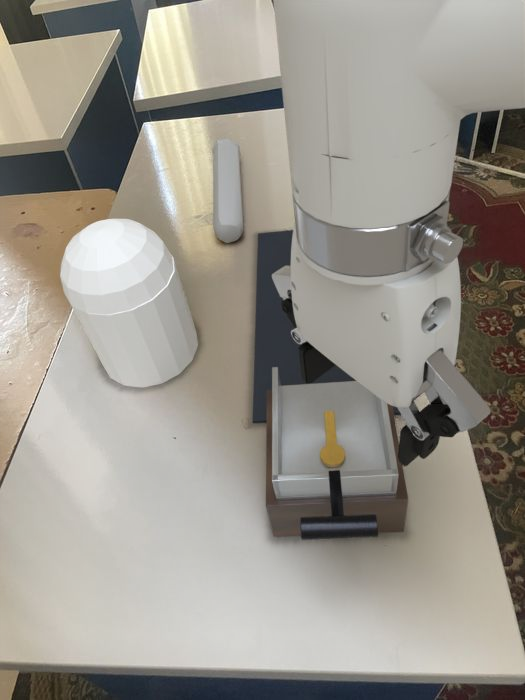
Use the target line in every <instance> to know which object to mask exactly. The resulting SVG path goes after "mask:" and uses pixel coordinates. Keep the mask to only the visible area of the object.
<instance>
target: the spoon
mask: <svg viewBox="0 0 525 700" xmlns="http://www.w3.org/2000/svg"><path fill="white" fill-rule="evenodd" d="M324 416H325V430H326V444H327V445H325V446H324V447H323V448H322V449H321V451H320V459H321V461H322V463H323V464H324V465H326V466H328V467H332V468H334V467H338V466H340V465H341V464H342V463H343V462H344V460H345V451H344V449H343V448H342V447H341V446H340V445H338V444H337V439H336V427H335V415H334V411H324Z"/></svg>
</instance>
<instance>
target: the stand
mask: <svg viewBox="0 0 525 700" xmlns="http://www.w3.org/2000/svg"><path fill="white" fill-rule="evenodd" d="M387 406H388V412H389V418H390V424H391V431H392V437H393V443H394V449H395V455H396V461H397V468H398V474H399V476H398V485H397V493H396V495H385V496H362V497H342V498H343V510H344V515H359V514H376V517H377V525H378V534H379V533H380V534H382V533H404V531H405V523H406V517H407V510H408V505H409V496H408V489H407V485H406V483H407V482H406V478H405V471H404V465H402V464H401V463H400V462H399V459H398V450H399V436H398V429H397V425H396V418H395V415H394V412H393V406H392V405H389V404H388V403H387ZM265 437H266V440H265V441H266V442H265V445H266V446H265V448H266V449H265V451H266V452H265V455H266V456H265V508H266V512H267V516H268V519H269V523H270V527H271V531H272V534H273V537H274V538H275V537H277V538H278V537H301V527H300V518H301V517H311V516H332V515H331V501H330V498H318V499H295V500H276V496H275V492H274V487H273V483H272V390H267V422H266V436H265Z"/></svg>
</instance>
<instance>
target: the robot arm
mask: <svg viewBox="0 0 525 700" xmlns="http://www.w3.org/2000/svg"><path fill="white" fill-rule="evenodd" d="M273 11H274V21H275V32H276V41H277V51H278V61H279V71H280V73H279V74H280V83H281V92H282V93H281V94H282V103H283V113H284V124H285V134H286V143H287V154H288V164H289V175H290V186H291V194H292V195H291V196H292V204H293V205H292V207H293V215H294V224H293V228H292V230H293V236H292V246H291V266H284V267H282V268H281V269H279V270H278V271H276V272H275V273H273V274H272V279H273V281H274V284H275V286H276V288H277V290H278V293H279V295H280V297H283V301H282V302H281V305H282V310H283V311H284V313H286V315H287V316H288V318H289V320H290V321H291V323H292V324H293V326H294V329H293V330H292V331H291V335H292V337H293V339H294V340H295V341H296V342H297V343H298V344H301V346H300V347H298V352H299V360H300V369H301V377H302V380H303V381H304V382H306V383H307V384H308V383H310V384H311V383H312V382H314V381H315V380H316V379H318V378H319V377H320V376H322V375H323V374H324V373H326V372H327V371H328V370H330V369H331V368H332V367H334V366H335V365H337V366H338V367H340V368H341V369H342V370H343V371H345V372H346V373H347V374H348V375H350V376H351V377H352V378H354V379H355V380H356V381H357V382H359V383H360V384H361V385H363V386H364V387H365V388H367V389H368V390H369V391H370V392H372V393H373V394H374V395H376V396H377V397H379V398H380V399H381V400H383V401H384V402H386V403H388V404H389V405H392V406H395V407H397V408H398V410H399V411H400V413H401V414H400V415H401V417H402V418H403V421H404V422H405V425H404V426H402V428H401V429H400V431H399V433H400V434H399V440H398V442H399V450H398V459H399V462H400V463H401V464H402V465H403V467H407V466H409V465H410V464H411V463H413V461H414V460H416V459H417V458H418V457H420V459H422V460H424V459H426V458H428V457H429V455H431V454H432V453H433V452H434V451H435V450H436V448H437V447H438V445H439V444H440V443H439V442H440V437H442V438H453V437H455V436H456V435H457V434H459V433H463V432H466V431H468V430H471V429H473V428H476V427H477V425H479V424H481V422H482V421H484V420H485V419H486V418H487V417H488V416H489V415H490V414H491V410H492V409H491V408H490V406H489V404H488V403H487V402H486V401H485V400H484V398H483V397H482V396H481V395H480V394H479V392H478V391H477V390H476V389H475V387H473V385H471V383H470V382H469V381H468V380H467V379H466V378H465V376H464V375H463V374H462V373H461V372H460V371H459V369H458V368H457V367H456V366H455V364H456V360H457V353H458V347H459V338H460V337H459V336H460V328H461V311H462V310H461V309H462V290H461V289H462V288H461V287H462V285H461V283H462V282H461V277H460V276H461V275H460V265H459V259H458V257H459V255H460V253H461V251H462V249H463V246H464V238H462V236H459V235H458V234H455V233H453V231H452V229H451V228H450V227H449V226H448V219H449V211H450V204H451V202H450V196H451V195H450V194H451V187H452V181H453V176H454V175H453V174H454V167H455V161H456V154H457V147H458V139H459V132H460V126H461V120H462V119H464V118H465V117H466V116H468V115H471V114H476V113H487V112H496V111H505V110H517V109H518V110H519V109H525V0H273ZM422 394H425V396H426V398H427V400H428V402H429V403H428V404H427V405H426V406H424V407H423V408H422V409H421V410H420V409H419V408H418V406H417V404H416V402H415V400H417V399H419V397H420V396H421V395H422Z"/></svg>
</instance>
